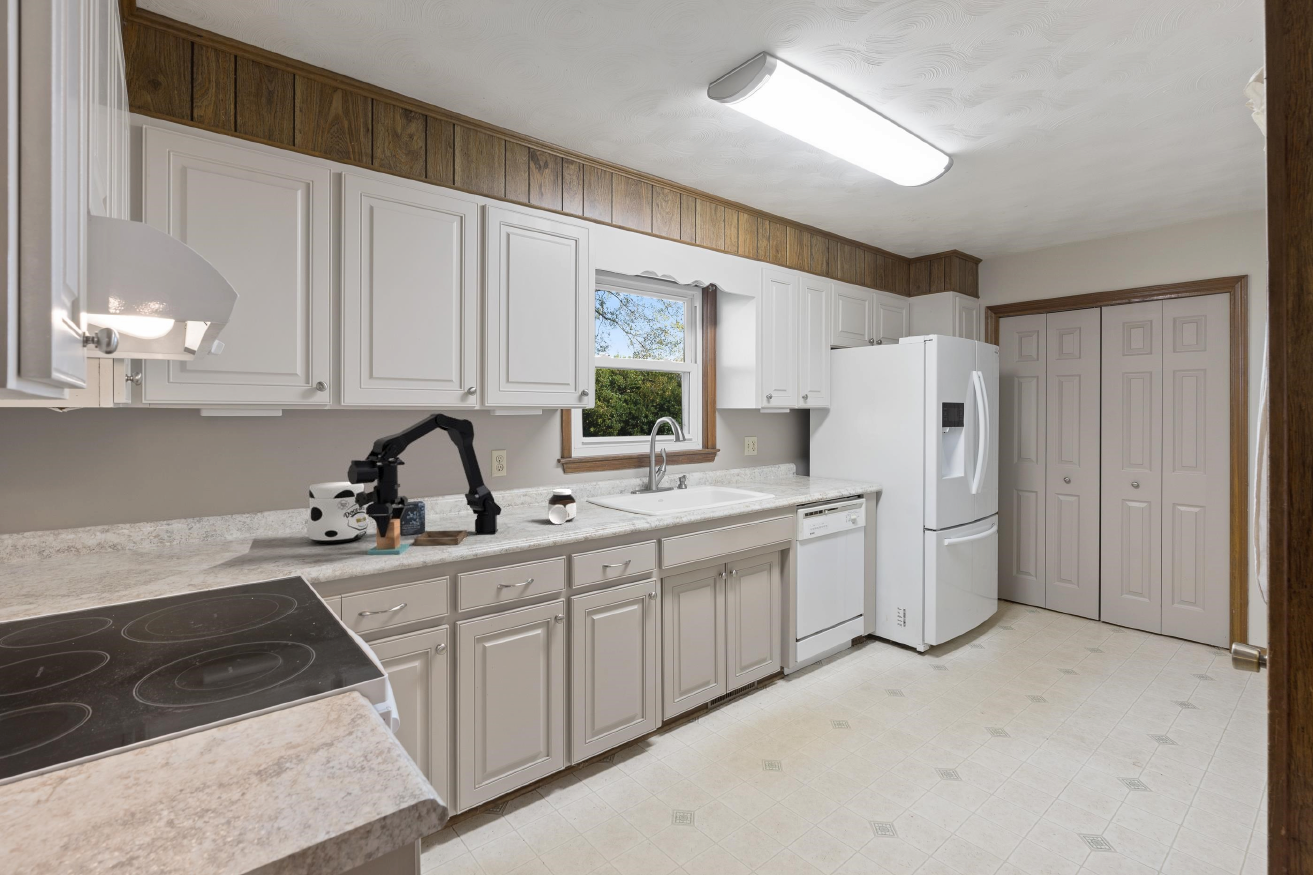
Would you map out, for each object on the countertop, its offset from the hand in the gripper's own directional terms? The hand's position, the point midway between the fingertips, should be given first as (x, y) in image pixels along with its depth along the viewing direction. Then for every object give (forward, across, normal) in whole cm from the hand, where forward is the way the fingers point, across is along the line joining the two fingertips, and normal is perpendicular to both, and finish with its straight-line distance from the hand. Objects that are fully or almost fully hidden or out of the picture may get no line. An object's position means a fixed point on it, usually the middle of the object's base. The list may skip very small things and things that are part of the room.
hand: (388, 534), depth 181 cm
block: (+4, 0, 0) cm, 4 cm away
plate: (+5, 0, 0) cm, 5 cm away
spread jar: (+5, -43, +48) cm, 65 cm away
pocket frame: (+5, -13, +12) cm, 18 cm away
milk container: (+5, -17, -21) cm, 28 cm away
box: (+5, -26, -1) cm, 27 cm away
